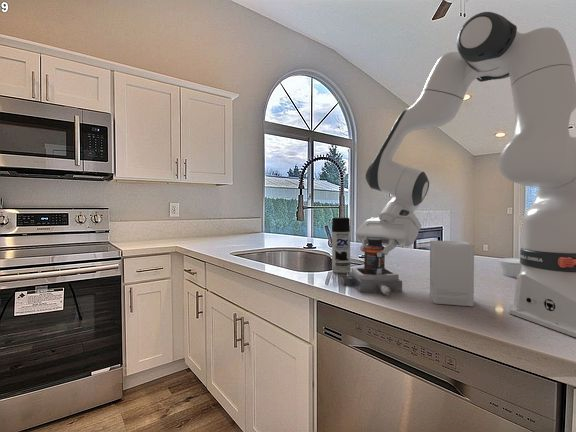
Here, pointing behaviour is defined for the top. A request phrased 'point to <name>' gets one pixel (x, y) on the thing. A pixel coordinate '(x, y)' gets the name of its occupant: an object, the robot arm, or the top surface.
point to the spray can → (341, 245)
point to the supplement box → (452, 273)
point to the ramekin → (510, 266)
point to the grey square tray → (373, 281)
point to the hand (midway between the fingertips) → (372, 252)
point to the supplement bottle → (374, 257)
